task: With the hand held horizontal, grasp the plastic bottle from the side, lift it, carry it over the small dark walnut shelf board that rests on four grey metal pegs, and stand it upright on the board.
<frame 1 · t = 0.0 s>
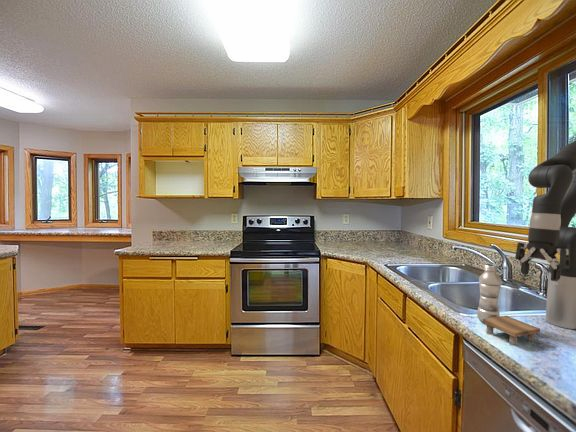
hand: (538, 277, 94), 17 cm above the worktop, tool pointing down, fingers open, 8 cm apart
pegged shelf: (509, 336, 90), on the worktop
plastic bottle: (487, 322, 100), on the worktop
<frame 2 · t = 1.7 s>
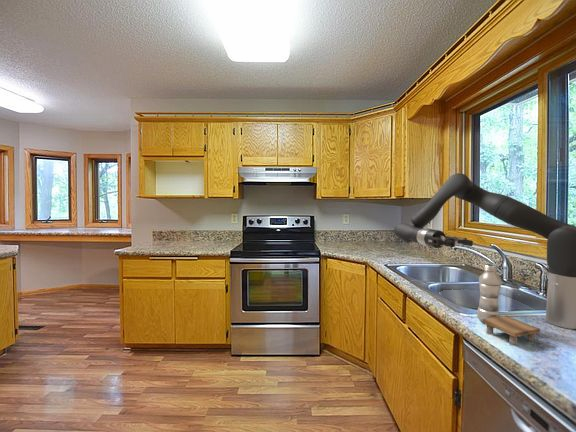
hand: (463, 244, 109), 26 cm above the worktop, tool horizontal, fingers open, 8 cm apart
nothing on the worktop moved.
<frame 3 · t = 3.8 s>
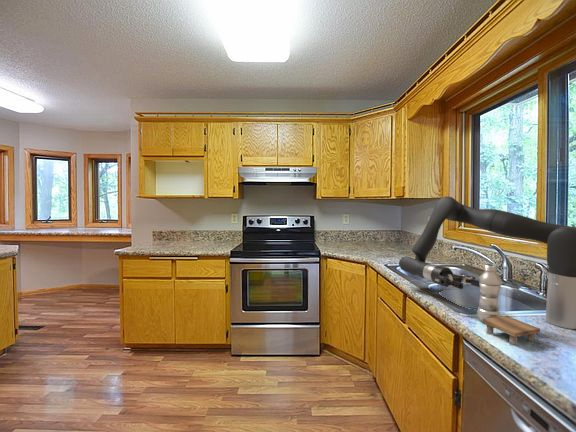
hand: (471, 285, 106), 11 cm above the worktop, tool horizontal, fingers open, 8 cm apart
nothing on the worktop moved.
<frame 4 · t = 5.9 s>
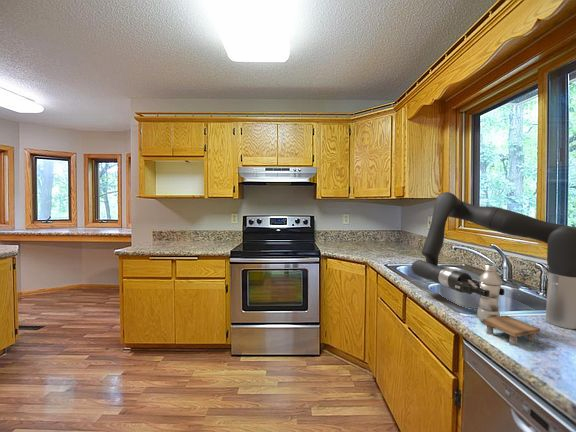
hand: (496, 293, 97), 11 cm above the worktop, tool horizontal, fingers closed on plastic bottle, 6 cm apart
plastic bottle: (487, 322, 100), on the worktop, touching gripper
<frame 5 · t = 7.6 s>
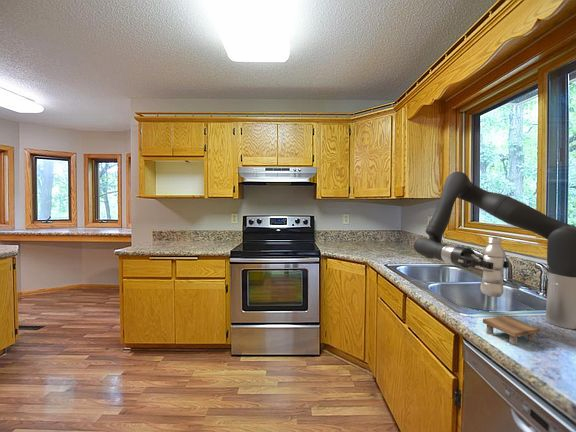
hand: (500, 265, 96), 21 cm above the worktop, tool horizontal, fingers closed on plastic bottle, 6 cm apart
plastic bottle: (491, 296, 99), point 9 cm above the worktop, touching gripper
when the fingers open (16 cm above the worktop, at t = 9.6 s): plastic bottle stays where it is, resting on pegged shelf.
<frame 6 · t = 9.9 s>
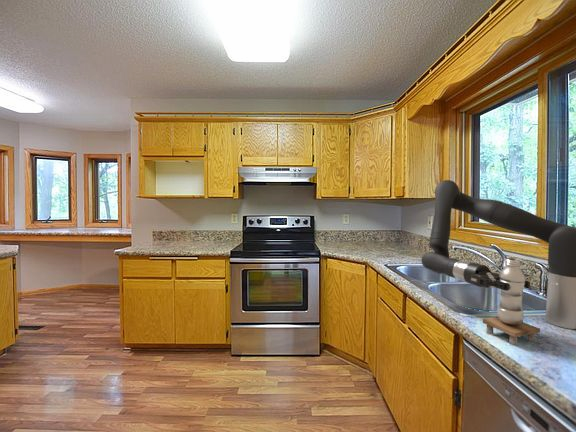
hand: (519, 286, 87), 17 cm above the worktop, tool horizontal, fingers open, 8 cm apart
plastic bottle: (509, 323, 90), point 4 cm above the worktop, touching pegged shelf
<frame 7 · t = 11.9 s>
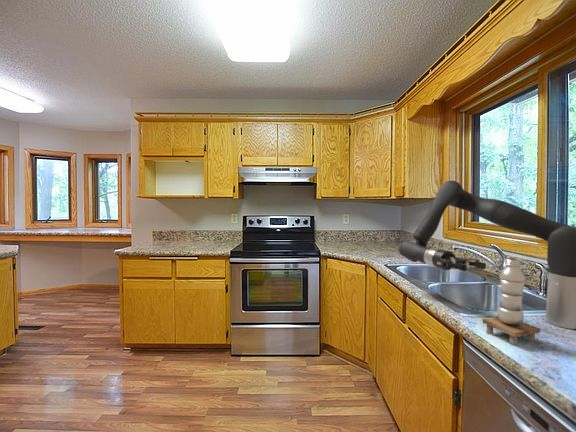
hand: (475, 267, 101), 19 cm above the worktop, tool horizontal, fingers open, 8 cm apart
nothing on the worktop moved.
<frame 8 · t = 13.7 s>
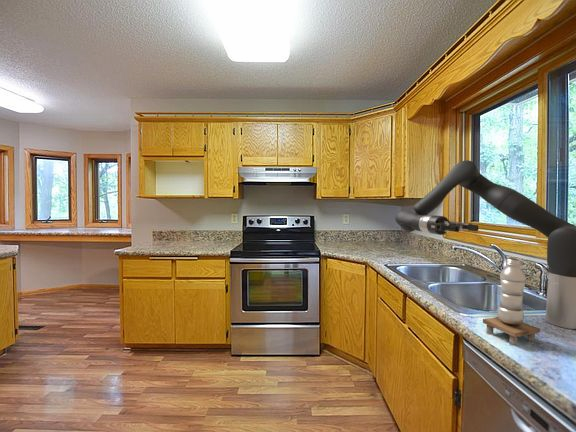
hand: (468, 228, 103), 32 cm above the worktop, tool horizontal, fingers open, 8 cm apart
nothing on the worktop moved.
at the end: plastic bottle inside the target area on the pegged shelf (0.2 cm from its centre), point 4.0 cm above the pegged shelf's base; plastic bottle tilted 1°; the gripper is holding nothing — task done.
